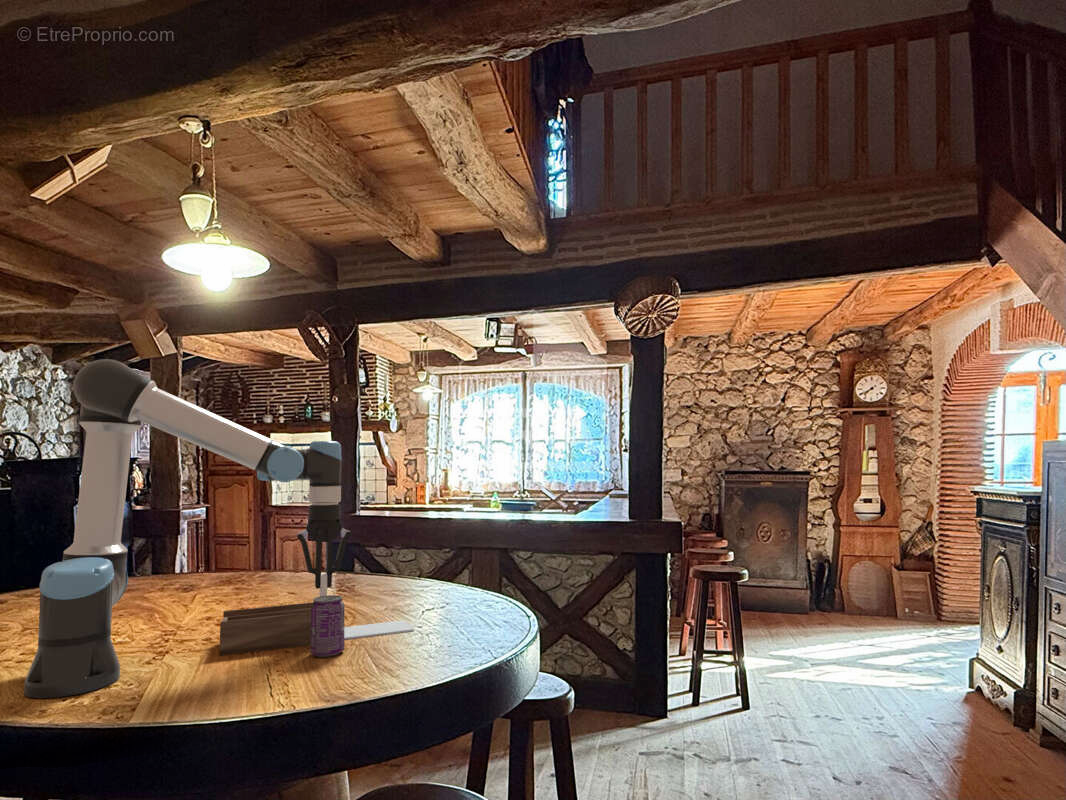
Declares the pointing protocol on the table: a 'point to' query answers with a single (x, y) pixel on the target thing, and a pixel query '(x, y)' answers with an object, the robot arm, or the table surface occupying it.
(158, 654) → the table surface
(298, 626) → the box
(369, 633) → the lid
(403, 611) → the table surface
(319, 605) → the beverage can
